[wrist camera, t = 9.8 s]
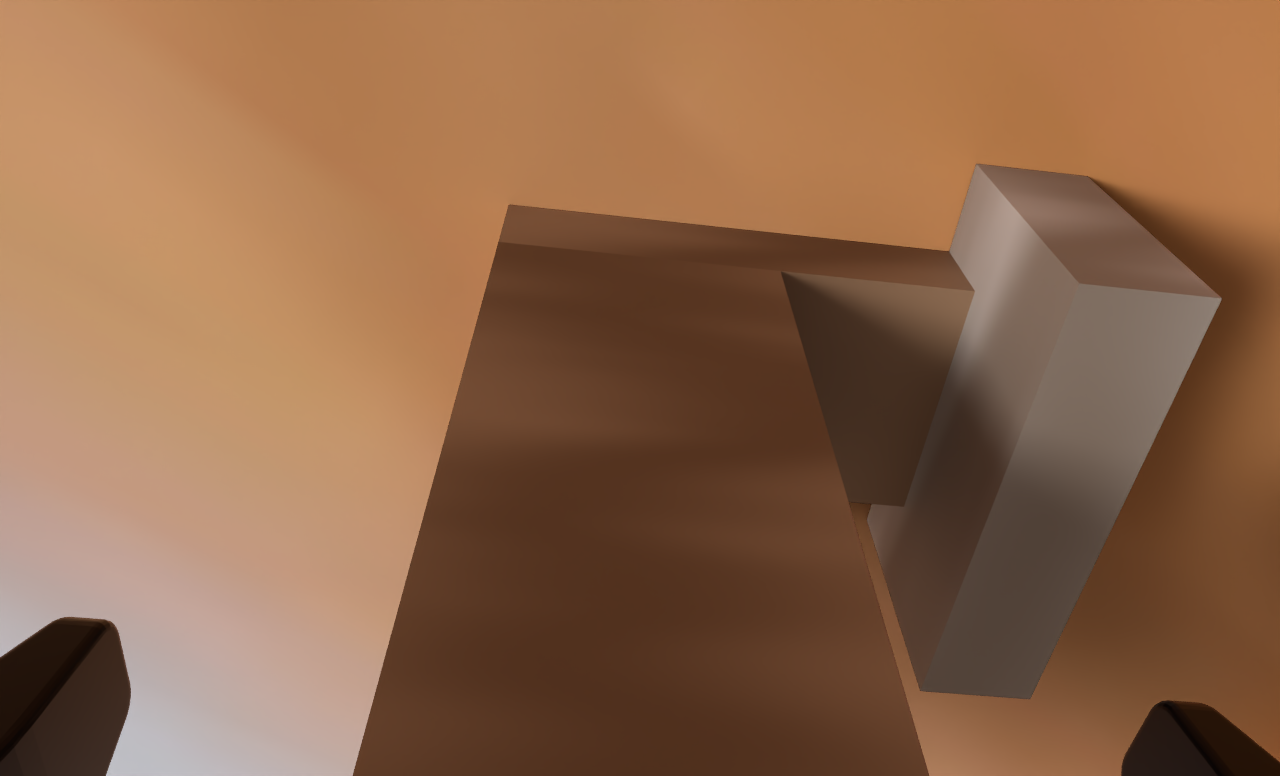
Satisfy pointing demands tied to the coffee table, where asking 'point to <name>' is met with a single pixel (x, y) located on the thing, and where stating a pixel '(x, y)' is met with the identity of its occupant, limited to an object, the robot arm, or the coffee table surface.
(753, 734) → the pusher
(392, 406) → the coffee table surface
